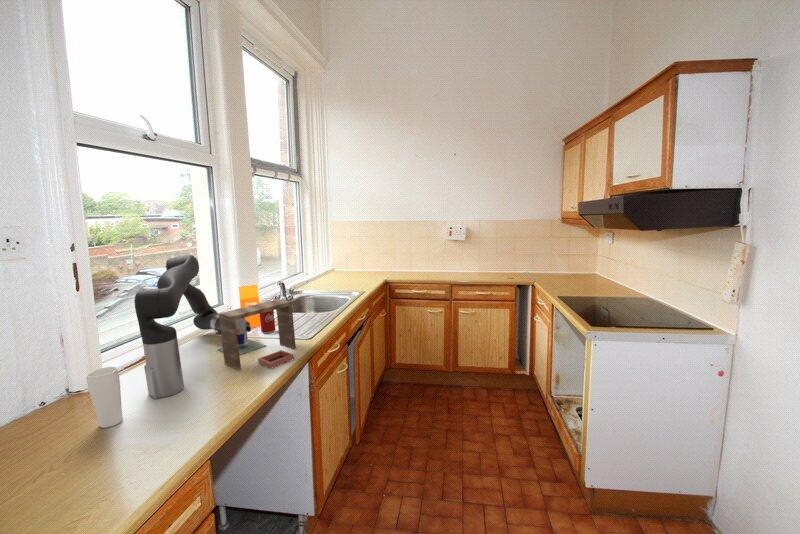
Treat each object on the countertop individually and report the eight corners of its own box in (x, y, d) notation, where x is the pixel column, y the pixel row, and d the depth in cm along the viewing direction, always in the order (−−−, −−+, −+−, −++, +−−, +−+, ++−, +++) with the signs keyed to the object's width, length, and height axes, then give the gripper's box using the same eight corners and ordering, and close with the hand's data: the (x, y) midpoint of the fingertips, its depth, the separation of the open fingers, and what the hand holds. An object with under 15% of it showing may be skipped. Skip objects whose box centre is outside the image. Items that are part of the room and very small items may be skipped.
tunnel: (236, 369, 138) (230, 317, 135) (224, 364, 144) (218, 313, 141) (295, 348, 157) (291, 301, 154) (283, 344, 163) (278, 298, 160)
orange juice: (262, 325, 191) (257, 286, 187) (242, 328, 187) (238, 288, 184) (261, 321, 198) (257, 283, 195) (242, 324, 195) (238, 285, 192)
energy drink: (231, 346, 159) (228, 318, 157) (242, 342, 164) (239, 314, 162) (240, 348, 157) (237, 319, 155) (251, 343, 161) (248, 316, 159)
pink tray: (270, 368, 138) (269, 363, 137) (258, 363, 143) (257, 358, 142) (294, 359, 145) (293, 354, 145) (281, 355, 150) (281, 350, 150)
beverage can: (271, 334, 176) (268, 309, 174) (258, 334, 177) (256, 309, 175) (278, 330, 182) (275, 305, 180) (266, 330, 183) (263, 305, 181)
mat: (233, 357, 151) (233, 356, 150) (217, 349, 159) (216, 349, 159) (266, 346, 161) (266, 345, 161) (248, 340, 170) (248, 339, 170)
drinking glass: (121, 414, 111) (113, 364, 108) (129, 421, 106) (121, 370, 104) (92, 425, 105) (83, 373, 103) (99, 433, 101) (89, 379, 99)
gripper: (205, 319, 162) (224, 326, 151) (237, 311, 173) (258, 317, 162) (207, 337, 163) (226, 345, 153) (239, 328, 174) (259, 334, 163)
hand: (242, 330), depth 157 cm, fingers closed on energy drink, 5 cm apart
